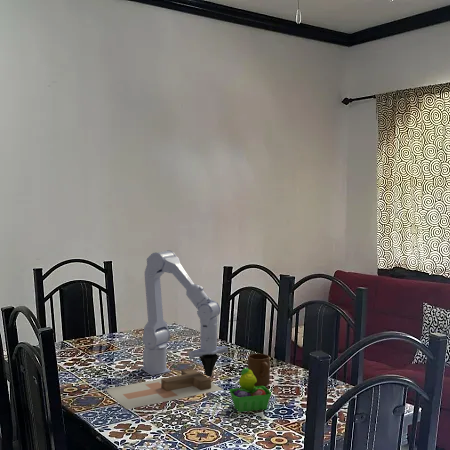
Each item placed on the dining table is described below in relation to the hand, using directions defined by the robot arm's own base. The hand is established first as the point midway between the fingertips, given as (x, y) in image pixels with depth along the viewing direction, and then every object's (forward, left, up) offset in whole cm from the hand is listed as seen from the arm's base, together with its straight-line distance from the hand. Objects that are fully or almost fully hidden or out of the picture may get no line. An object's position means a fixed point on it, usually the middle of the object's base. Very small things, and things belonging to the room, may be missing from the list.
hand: (208, 375), depth 196 cm
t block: (0, -10, -2) cm, 10 cm away
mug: (+13, +13, -2) cm, 19 cm away
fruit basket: (+27, -1, -2) cm, 27 cm away
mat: (0, -17, -2) cm, 17 cm away
